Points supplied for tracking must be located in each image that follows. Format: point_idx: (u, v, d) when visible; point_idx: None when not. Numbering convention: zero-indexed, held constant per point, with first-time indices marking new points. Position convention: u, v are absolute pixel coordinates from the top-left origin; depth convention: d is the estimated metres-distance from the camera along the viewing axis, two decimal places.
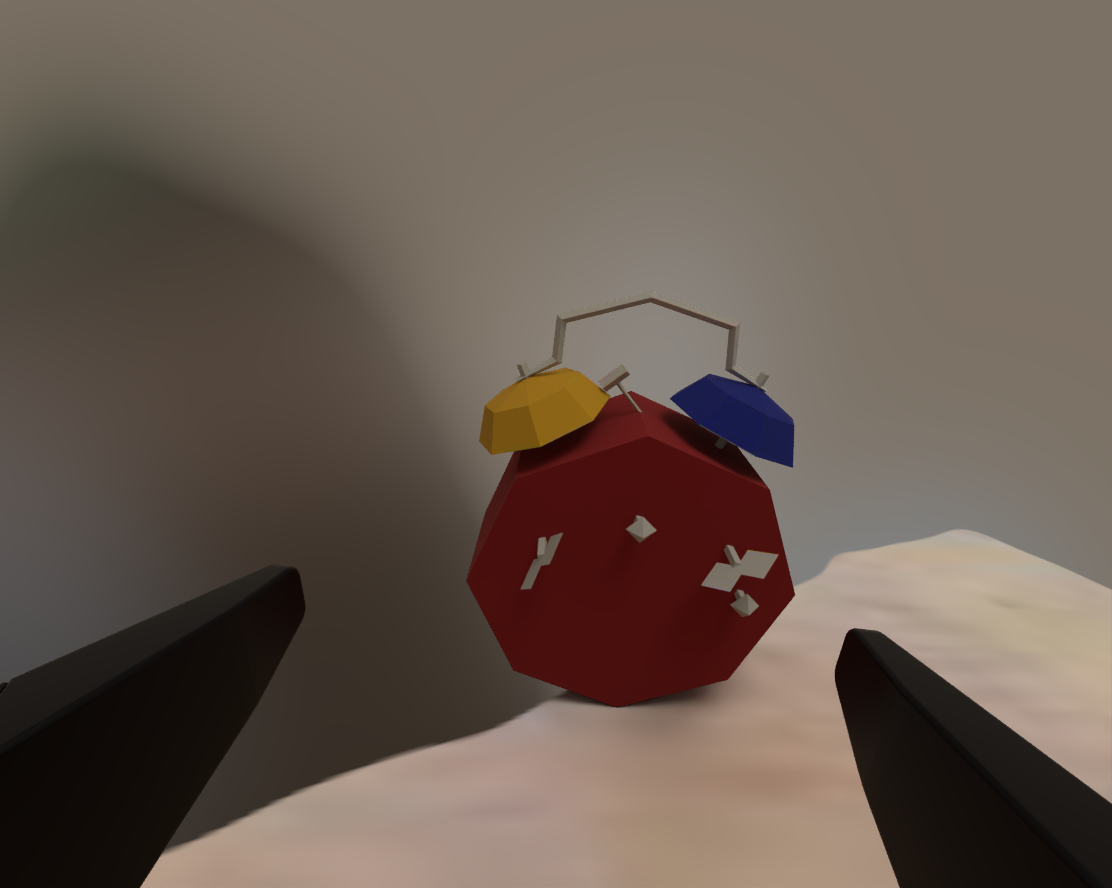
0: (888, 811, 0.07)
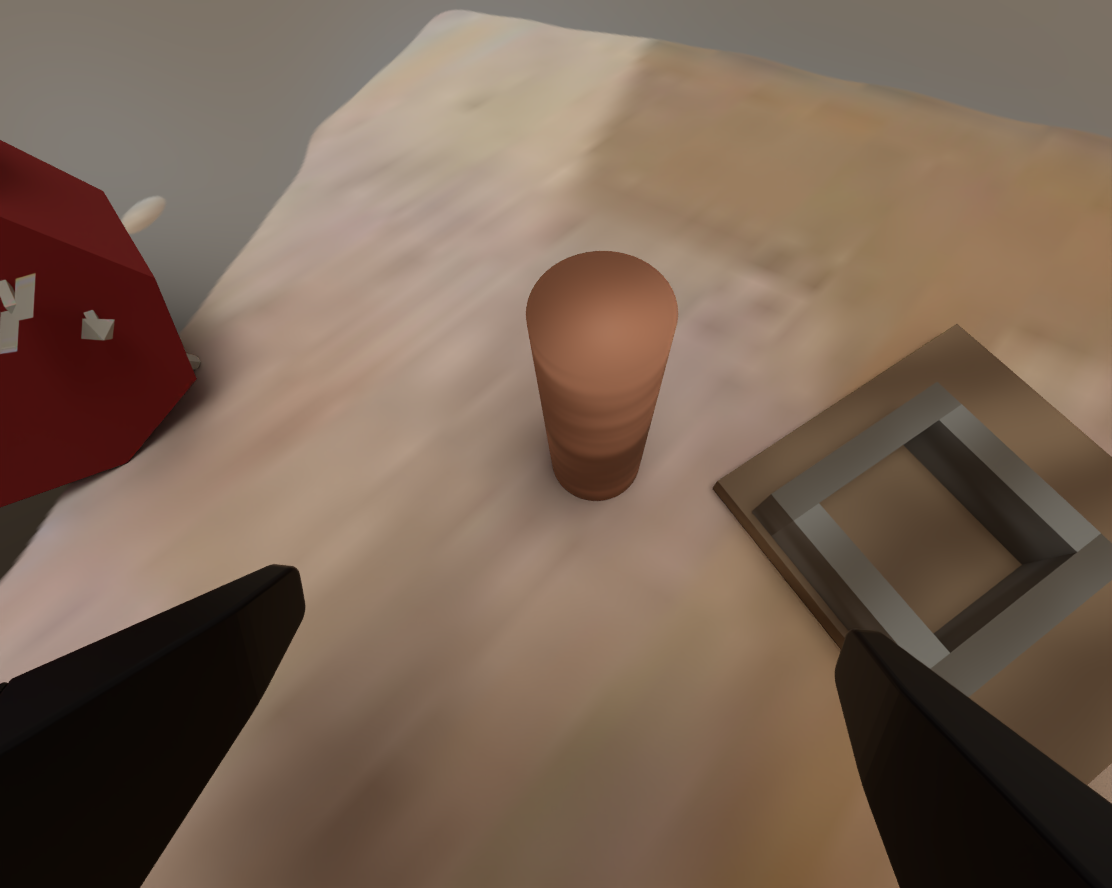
0: (888, 811, 0.07)
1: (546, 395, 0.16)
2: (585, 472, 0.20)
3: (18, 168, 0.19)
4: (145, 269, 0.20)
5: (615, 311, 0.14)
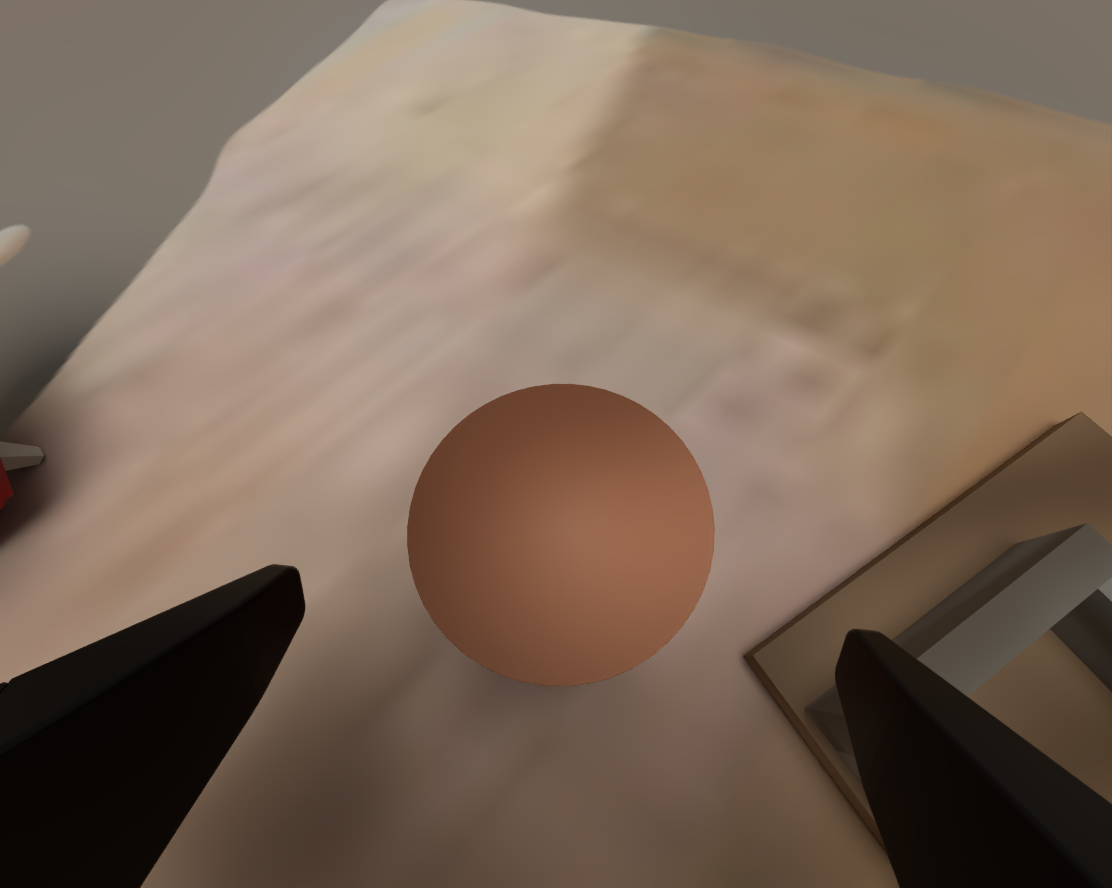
0: (888, 811, 0.07)
1: None
2: None
3: None
4: None
5: (586, 520, 0.07)
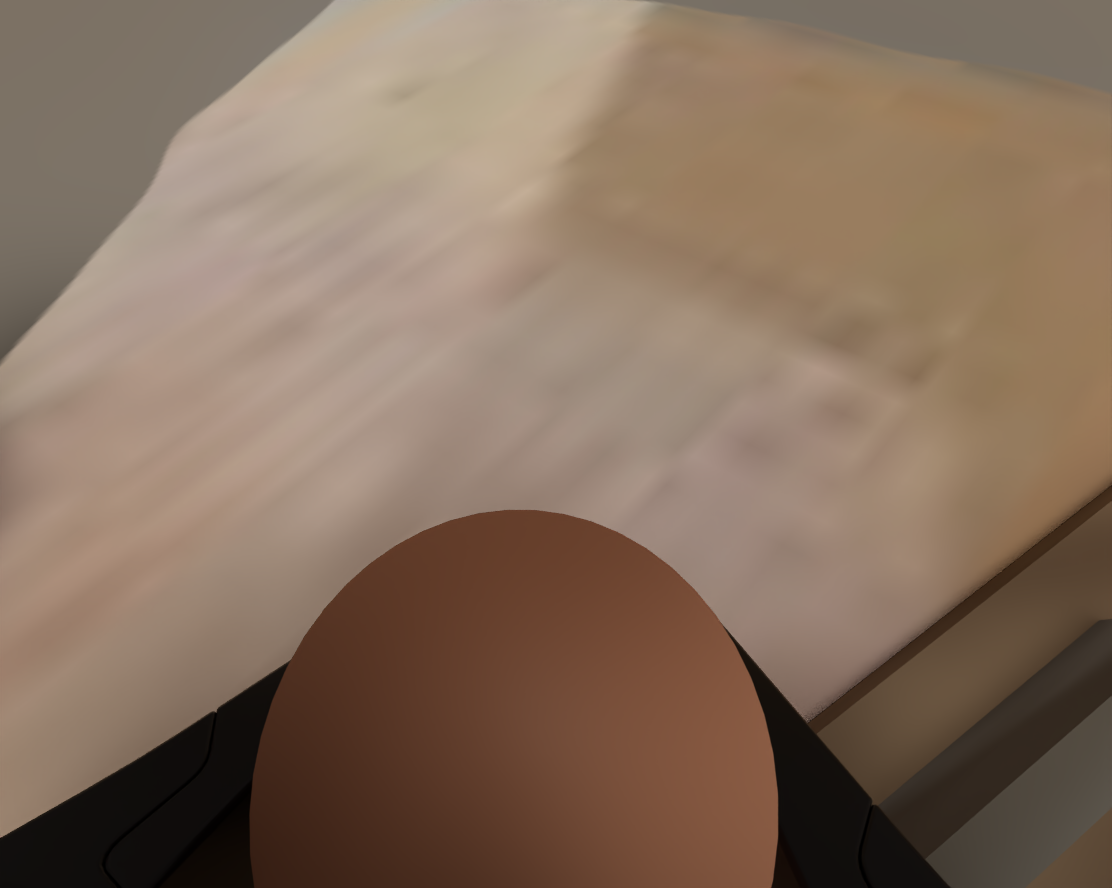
0: None
1: None
2: None
3: None
4: None
5: (556, 770, 0.04)
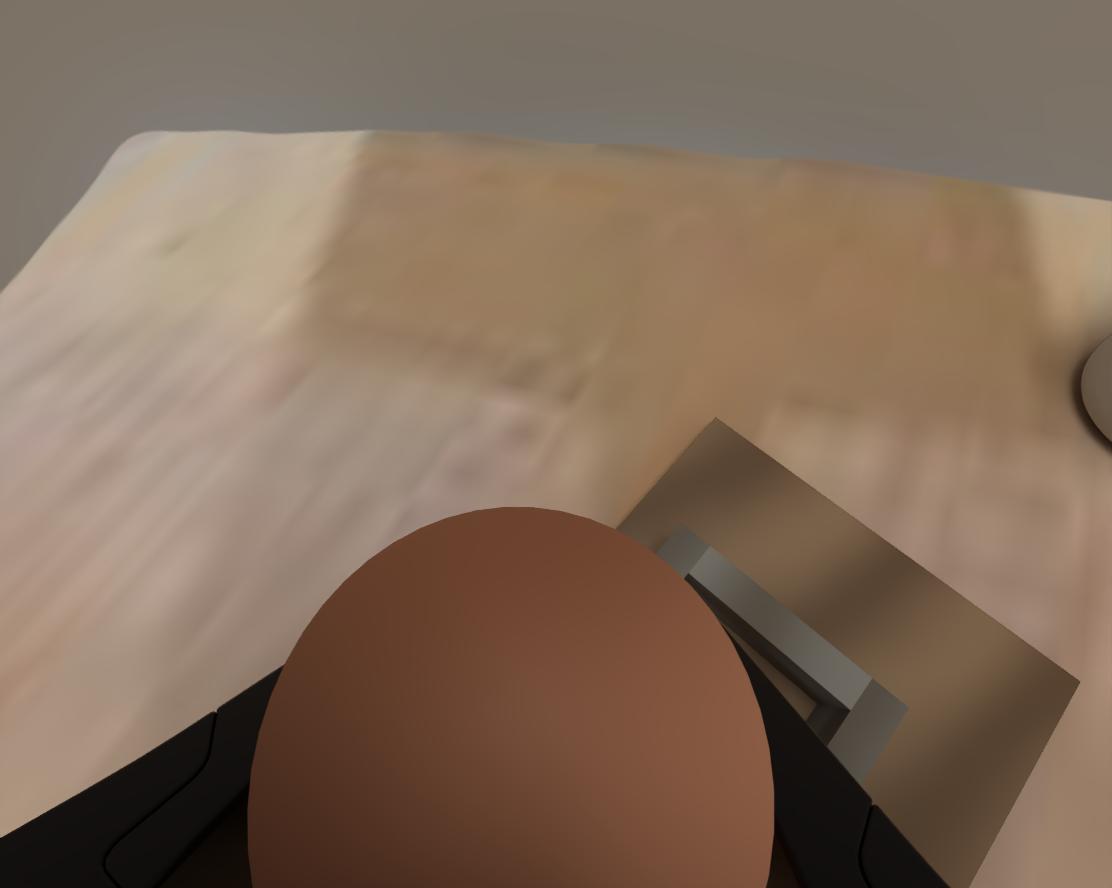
0: None
1: None
2: None
3: None
4: None
5: (553, 765, 0.04)
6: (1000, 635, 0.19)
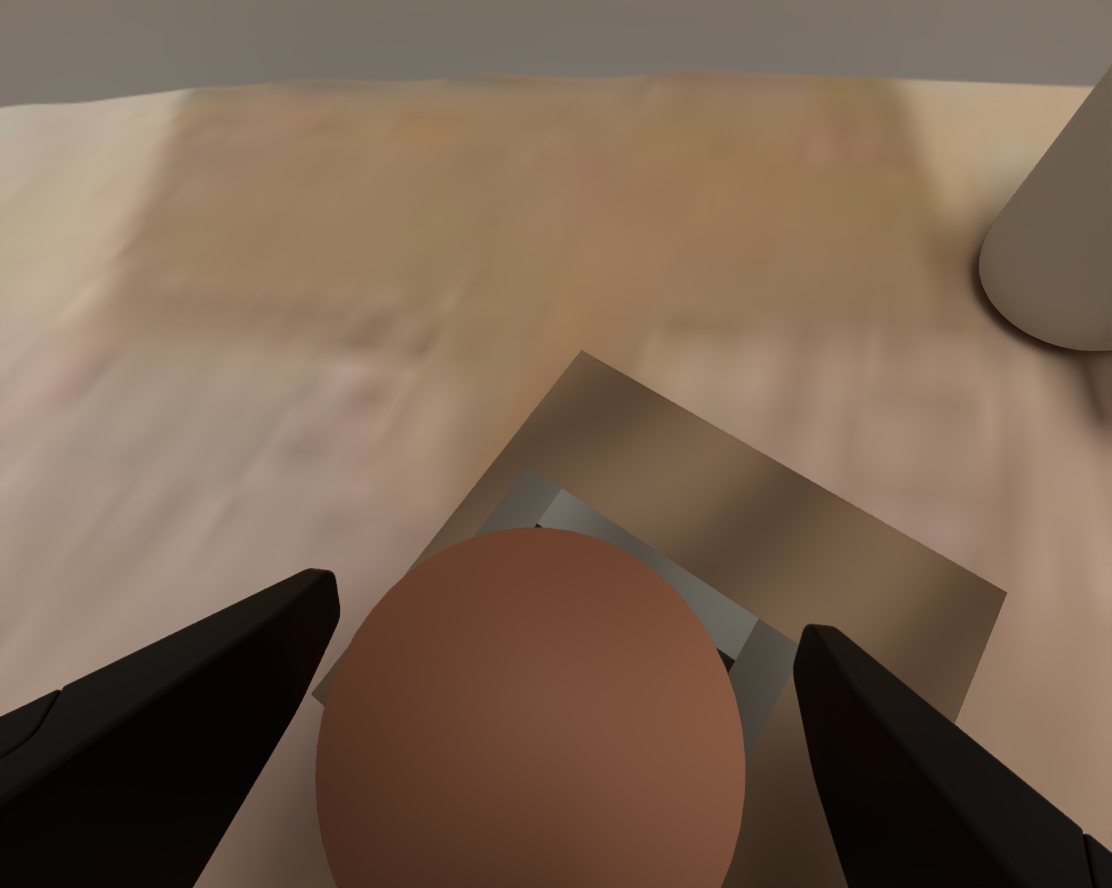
0: (836, 804, 0.07)
1: None
2: None
3: None
4: None
5: (566, 741, 0.05)
6: (914, 552, 0.16)
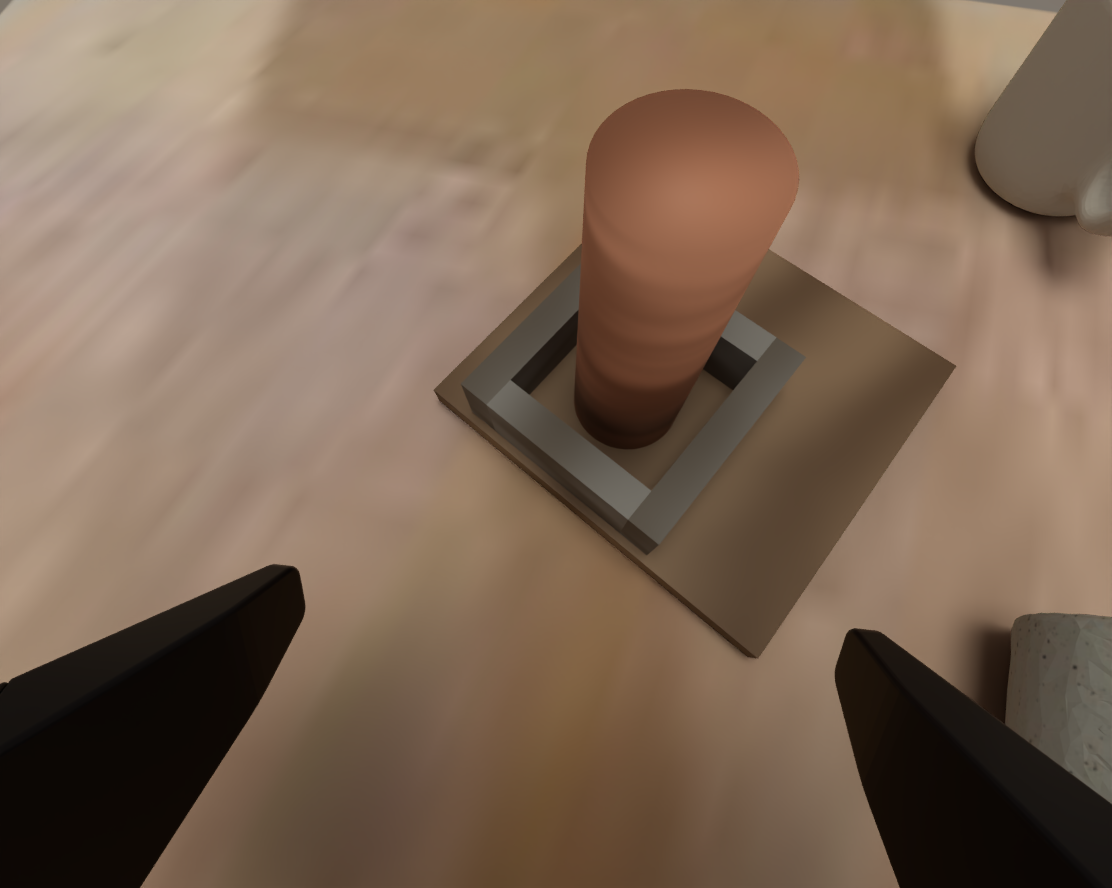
0: (888, 811, 0.07)
1: (594, 292, 0.12)
2: (620, 409, 0.16)
3: None
4: None
5: (711, 169, 0.10)
6: (892, 335, 0.21)
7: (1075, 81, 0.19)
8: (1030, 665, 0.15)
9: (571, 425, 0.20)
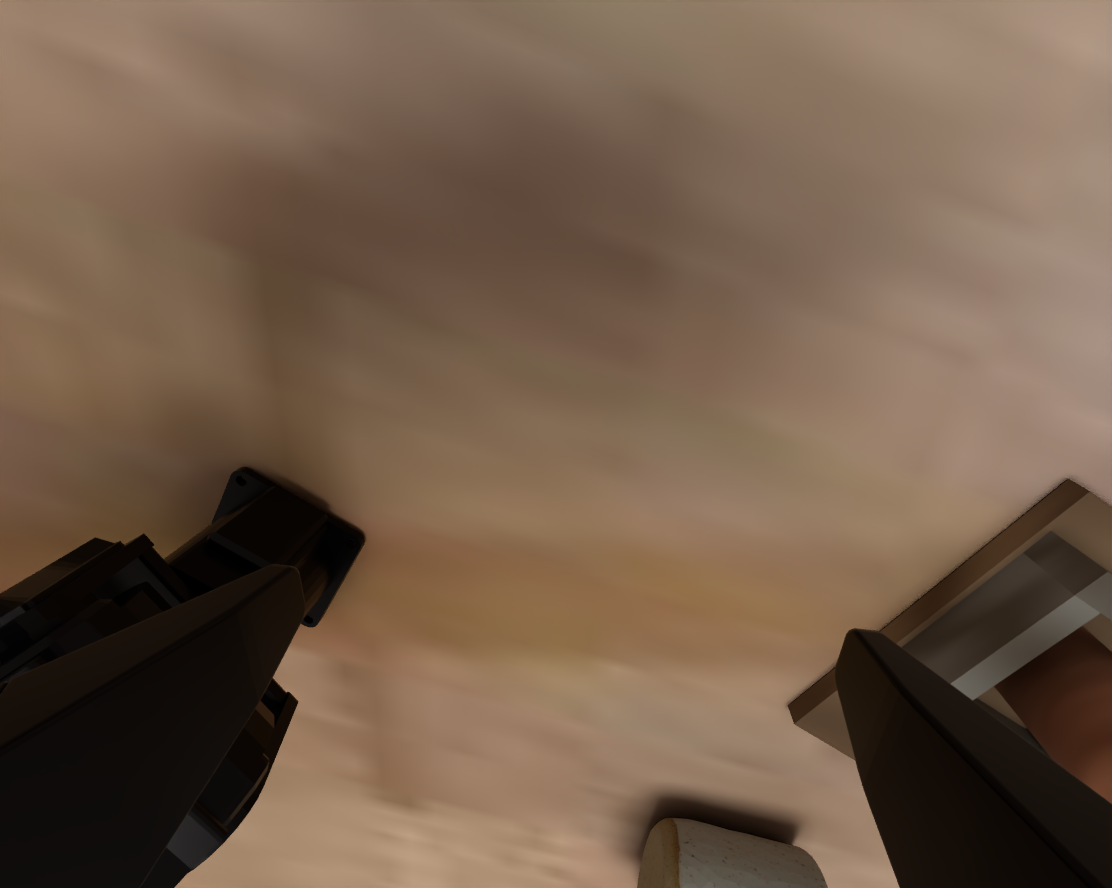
0: (888, 811, 0.07)
1: None
2: (1050, 718, 0.18)
3: None
4: None
5: None
6: None
7: None
8: (796, 877, 0.25)
9: None
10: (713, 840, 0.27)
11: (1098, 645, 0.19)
